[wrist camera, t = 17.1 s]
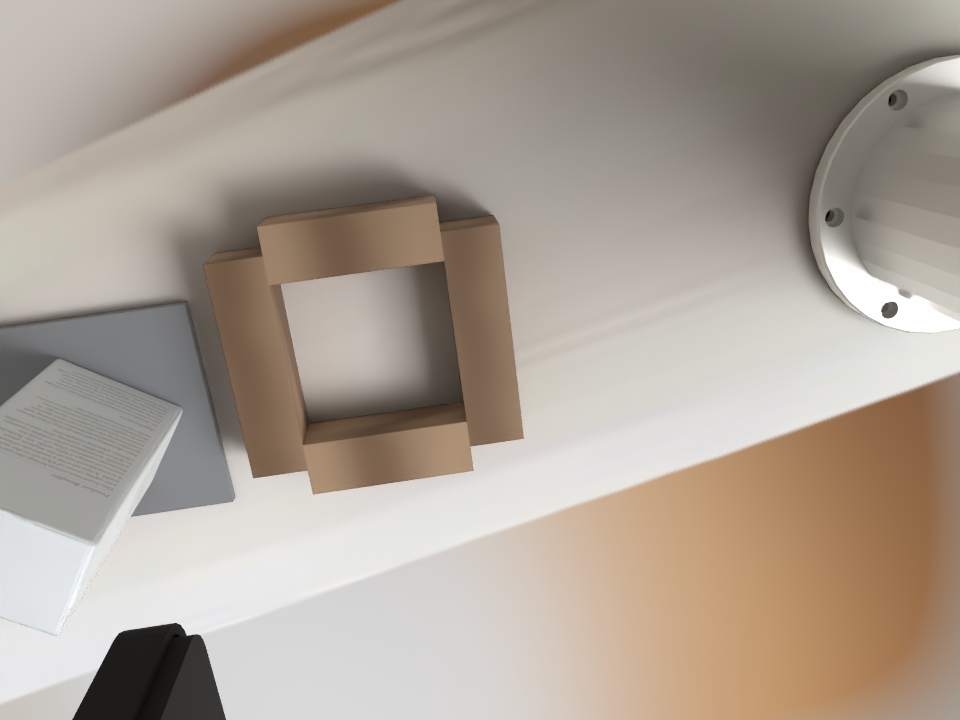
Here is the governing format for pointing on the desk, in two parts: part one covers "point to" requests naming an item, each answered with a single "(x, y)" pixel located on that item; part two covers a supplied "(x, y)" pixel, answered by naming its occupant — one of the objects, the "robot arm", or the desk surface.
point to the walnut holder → (381, 437)
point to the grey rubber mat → (137, 388)
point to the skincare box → (70, 484)
